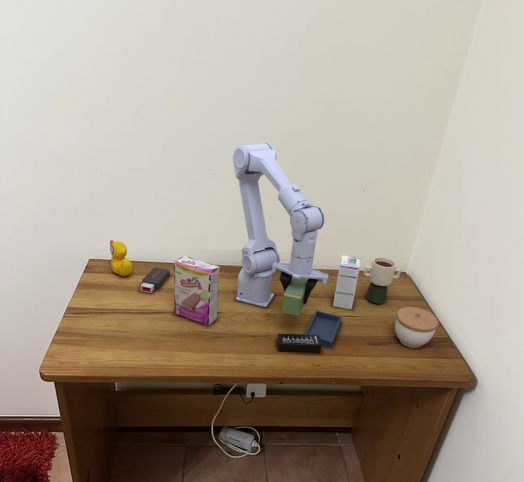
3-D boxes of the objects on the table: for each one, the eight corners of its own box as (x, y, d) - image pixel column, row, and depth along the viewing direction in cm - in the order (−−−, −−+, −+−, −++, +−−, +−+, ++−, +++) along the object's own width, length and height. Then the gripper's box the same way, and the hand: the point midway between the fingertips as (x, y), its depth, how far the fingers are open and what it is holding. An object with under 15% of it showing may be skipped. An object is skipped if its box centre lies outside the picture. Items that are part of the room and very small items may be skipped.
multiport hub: (276, 340, 128) (277, 333, 126) (318, 342, 128) (319, 335, 127) (278, 350, 124) (279, 343, 123) (320, 352, 125) (322, 345, 123)
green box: (292, 294, 135) (295, 275, 132) (308, 298, 134) (311, 278, 131) (281, 311, 127) (284, 291, 124) (298, 316, 126) (301, 296, 123)
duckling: (104, 267, 154) (102, 238, 148) (121, 263, 157) (118, 234, 151) (121, 282, 146) (118, 252, 141) (137, 278, 149) (135, 248, 144)
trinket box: (424, 358, 127) (434, 328, 122) (385, 342, 131) (392, 313, 126) (435, 339, 135) (444, 310, 130) (397, 325, 139) (405, 297, 134)
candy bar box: (173, 315, 134) (172, 261, 125) (183, 306, 138) (183, 254, 129) (208, 327, 130) (210, 273, 122) (218, 318, 134) (220, 265, 126)
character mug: (390, 295, 154) (399, 258, 147) (395, 307, 148) (405, 269, 141) (356, 292, 153) (364, 255, 147) (359, 304, 147) (368, 266, 141)
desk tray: (303, 340, 129) (304, 334, 128) (315, 315, 140) (315, 310, 139) (331, 347, 127) (332, 342, 126) (341, 322, 138) (342, 316, 137)
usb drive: (170, 275, 152) (169, 268, 151) (154, 294, 142) (154, 286, 141) (154, 272, 153) (154, 265, 152) (137, 291, 143) (137, 282, 142)
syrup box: (351, 310, 144) (361, 266, 137) (331, 306, 145) (340, 262, 137) (352, 300, 149) (361, 257, 142) (333, 297, 150) (341, 254, 142)
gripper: (270, 253, 121) (265, 300, 128) (327, 266, 118) (318, 314, 125) (278, 243, 127) (273, 288, 134) (333, 255, 124) (325, 301, 131)
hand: (296, 300), depth 130 cm, fingers closed on green box, 4 cm apart
